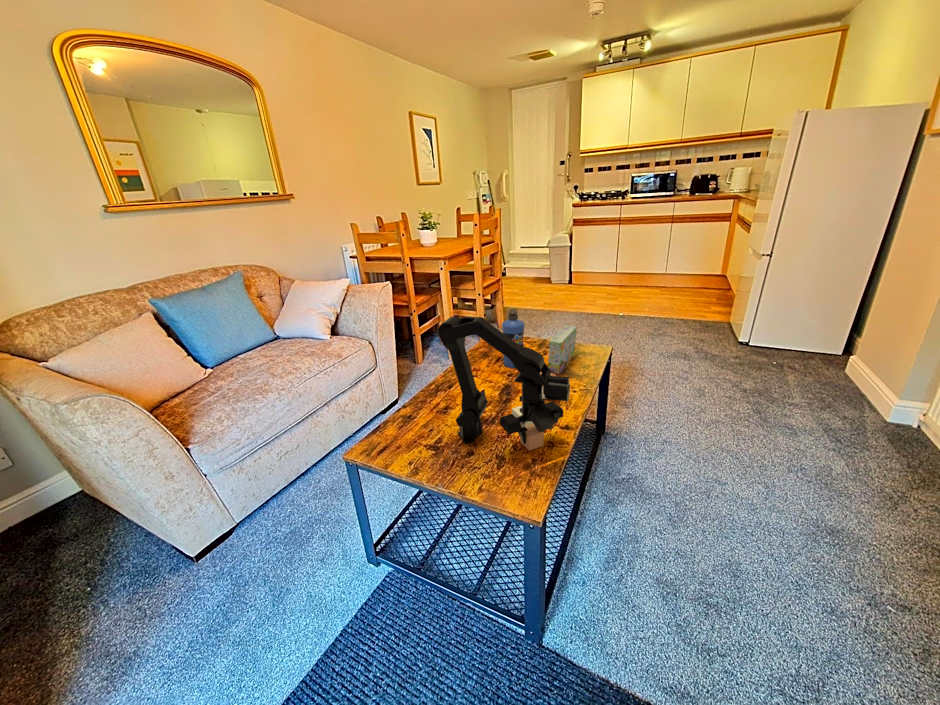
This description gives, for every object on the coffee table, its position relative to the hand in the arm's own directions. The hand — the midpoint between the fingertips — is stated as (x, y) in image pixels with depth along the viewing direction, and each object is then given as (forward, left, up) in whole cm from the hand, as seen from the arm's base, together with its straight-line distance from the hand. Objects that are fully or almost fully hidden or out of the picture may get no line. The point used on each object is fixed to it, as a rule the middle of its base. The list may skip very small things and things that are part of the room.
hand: (531, 440), depth 118 cm
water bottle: (+25, +54, -2) cm, 60 cm away
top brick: (0, 0, -1) cm, 1 cm away
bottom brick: (+6, +11, -1) cm, 13 cm away
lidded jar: (+20, +24, -2) cm, 31 cm away
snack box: (+42, +42, -3) cm, 59 cm away
